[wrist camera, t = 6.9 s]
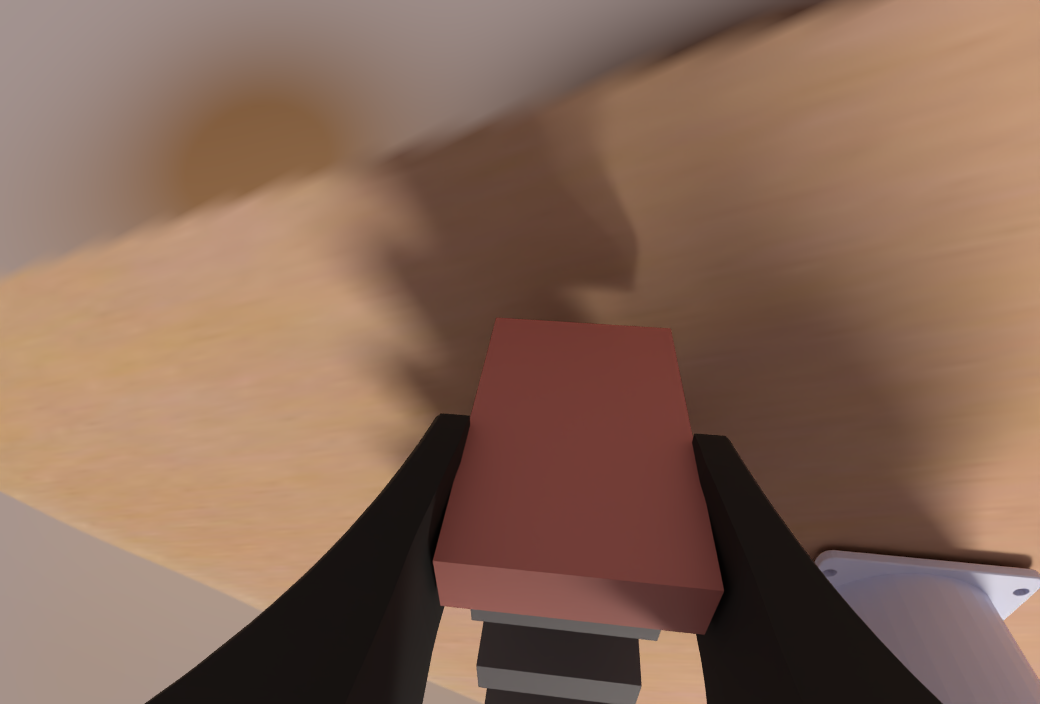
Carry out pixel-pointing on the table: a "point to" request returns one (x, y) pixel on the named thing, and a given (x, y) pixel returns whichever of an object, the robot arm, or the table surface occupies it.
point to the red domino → (580, 484)
